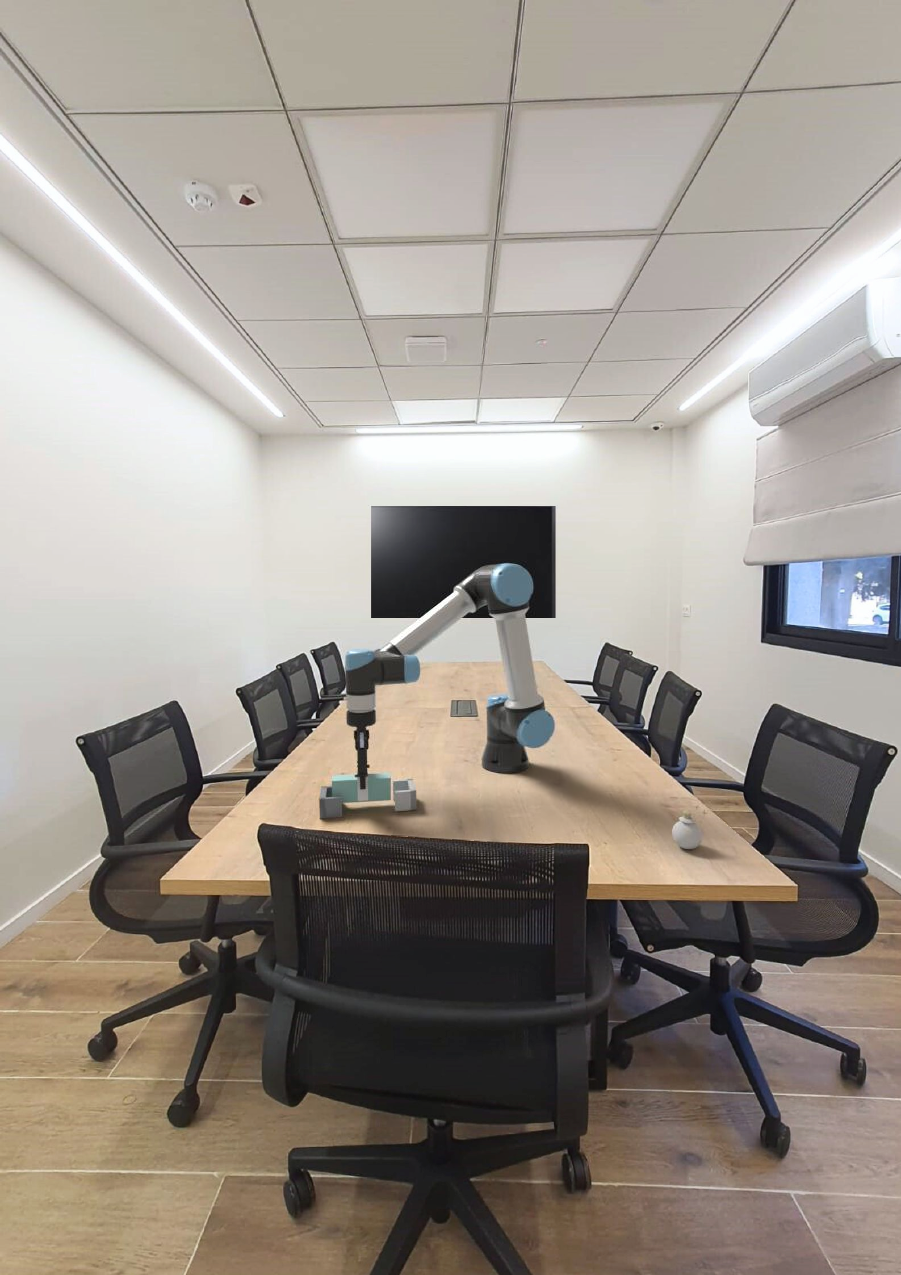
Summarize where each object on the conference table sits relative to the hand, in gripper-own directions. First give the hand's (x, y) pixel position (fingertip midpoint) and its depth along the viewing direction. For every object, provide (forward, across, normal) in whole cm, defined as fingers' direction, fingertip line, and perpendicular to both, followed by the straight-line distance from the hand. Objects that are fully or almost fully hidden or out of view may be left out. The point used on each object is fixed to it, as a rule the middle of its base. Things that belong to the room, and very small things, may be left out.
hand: (362, 796), depth 142 cm
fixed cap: (+3, 0, -8) cm, 8 cm away
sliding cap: (+3, 0, +11) cm, 12 cm away
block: (+1, 0, 0) cm, 1 cm away
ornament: (+3, +36, +71) cm, 79 cm away
